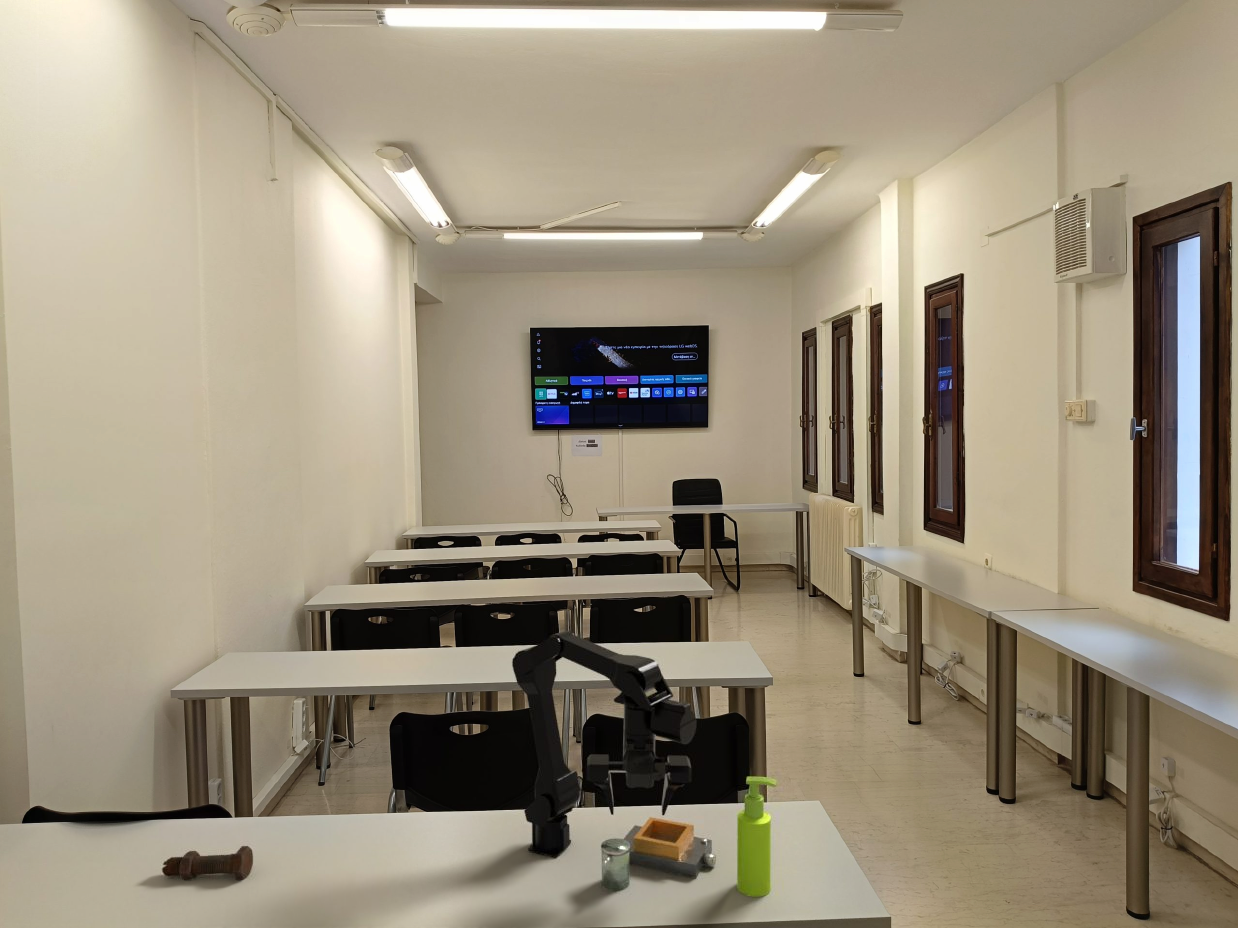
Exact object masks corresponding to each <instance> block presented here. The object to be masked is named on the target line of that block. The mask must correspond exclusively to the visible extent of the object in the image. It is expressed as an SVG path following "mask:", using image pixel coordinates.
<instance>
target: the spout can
mask: <svg viewBox="0 0 1238 928" xmlns="http://www.w3.org/2000/svg"><path fill="white" fill-rule="evenodd" d="M623 839H624V838H616V837H615V838H609V839H605V840H604V841H602V843H601V845H600V851H601V885H602V887H603V888H604V889H606V890H607V891H612V892H613V891H615V892H617V891H618V892H619V891H623V890H626V889H628V887H629V886H630V881H631V880H630V877H631V876H630V864H629V850H630V844H629V842H627V841H626V840H623Z"/></svg>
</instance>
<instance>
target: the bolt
mask: <svg viewBox="0 0 1238 928" xmlns="http://www.w3.org/2000/svg"><path fill="white" fill-rule="evenodd" d="M253 864H254V855H253V850H252V848H251V847H250V846H249V845H242V846H240V847H239V849H238V850H237V851H236V852H235V853H231V854H212V855H211V854H209V855H200V853H199V851H197V850H189V851H188V852H186V853H185V854H184V855H183V856H172V857H170V858H167V860H166V861H164V862H163V864H162V865H163V867H162V868H161V871H162V874H163V875H164V876H166V877H176V876H177V877H179V876H180V878H181V879H182V880H183V881H192V880H194V879H196V877H197V876H202V875H203V876H204V875H224V874H225V875H227V874H228V875H232V874H233V876H234V878H235V880H236V881H244V880H245V879H247V878H248V877H249V875H250V873H251V872H252V869H253Z"/></svg>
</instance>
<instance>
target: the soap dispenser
mask: <svg viewBox="0 0 1238 928" xmlns="http://www.w3.org/2000/svg"><path fill="white" fill-rule="evenodd" d="M745 782H746V783H745V784H746V785H749V789H748V790H749V793H747V794H745V795H744V809H743V810H741V811H739V812H738V813H737V819H736V820H737V831H736V832H737V835H736V836H737V839H736V840H737V842H736V843H737V844H736V845H737V846H736V847H737V848H736V850H737V853H736V855H737V858H736V860H737V865H736V866H737V867H736V868H737V874H736V875H737V877H736V880H737V881H736V884H737V885H736V888H737V890H738V891H739V892H740V893H741V894H743V895H745V896H748V897H753V898H759V897H764V896H767V895H768V894H769V893H770V892H771V882H772V881H771V878H772V876H771V875H772V873H771V869H772V867H771V862H772V861H771V859H772V858H771V855H772V854H771V853H772V852H771V851H772V850H771V849H772V845H771V843H772V842H771V840H772V836H771V834H772V832H771V831H772V826H771V825H772V824H771V823H772V817H771V815H770V814H769V812H766V811H765V810H764V809H765V808H764V806H765V805H764V803H765V800H764V799H765V798H764V795H762V794H760V785H763V786H765V785H766V786H770V787H773V788H775V787H776V786H777V785H778V780H776V779H773V778H770V777H766V776H746V780H745Z"/></svg>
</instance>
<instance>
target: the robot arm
mask: <svg viewBox="0 0 1238 928" xmlns="http://www.w3.org/2000/svg"><path fill="white" fill-rule="evenodd" d="M562 658H563V659H565V660H568V661H571V662H572V663H574V664H577V665H579V666H580V667H584V668H585V669H588V670H591V671H592V672H595V673H597V674H599V675H602V676H604V677H605V678H606V679H608V680H609V681H610V683H611V684H612V686H613V687H614V688H615V689H617V690H618V691H619V692H620V694H618V695H617V696H616V697H615V698H613V702H615V703H617V704H619V705H620V704H621V705H623V736H622V737H623V743H622V747H623V748H622V749H623V750H622V761H610V759H609V758H610V756H609V754H598V753H597V754H591V753H590V755H588V757H587V760H586V781H588V782H590V783H591V782H593V785H594V786H598V787H600V788H601V790H602V792H603V794H604V796H605V799H606V802H607V806H608V808H609V812H610V815H612V816H613V815H614V809H615V808H614V807H615V806H614V804H615V803H614V795H613V786H612V785H613V784H612V775H611V774H625V784H626V787H627V788H631V789H635V788H645V789H651V788H653V787H654V784H655V781H661V779H664V782H663V783H664V784H663V790H662V791H663V792H662V800H661V816H665V814H666V812H667V810H668V806H669V804H670V802H671V800H672V796H673V794H674V792H675V791H676V790H677V789H678V788H680V787H683V786H684V785H685V783H686V784H689V783H691V782H692V774H693V773H692V766H691V761H690V758H689V757H688V756H687V755H667V762H666V759H665V757H663V756H661V757H658V756H657V755H656V737H658V738H661V739H665V740H669V741H672V742H676V743H679V744H683V745H688V744H690V742H691V741H692V740H693V738H694V736H695V734H696V730H697V723H698V722H697V719H696V715H695V712H694V711H693V710H691V703H689V702H684V701H682V702H681V701H677V700H672V698H673V697H674V694H673V692H672V690H671V689H670V687H669V685H668V683H667V681H666V678H664V676H663V674H662V672H661V668H660V666H659V663H658V662H657V661H656V660H655V659H653V658H650V657H645V656H642V655H635V654H633V655H631V654H622V653H619V652H616V651H613V650H611V649H609V648H606V647H603V646H601V645H598V644H596V643H594V642H591V641H589V640H588V639H585V638H583V637H580V636H578V635H575V633H573V632H572V631H569V630H563V631H561V632H558V633H554V634H552V635H550V636H549V637H548V638H547V639H545V640H544V641H542V642H540V643H539V644H537V645H534V646H531V647H527V648H525V649H522V650H518V651H517V652H516V653H515V654H514V657H513V658H512V661H511V664H512V665H511V666H512V670H513V673H514V677H515V679H516V683H517V685H518V686H519V688H521V690H522V691H523V692H524V693H525V695H526V697H527V698H526V699H527V703H528V709H529V714H530V720H531V726H532V732H533V733H532V734H533V737H534V742H535V743H534V744H535V751H536V755H537V763H538V772H537V776H536V779H535V784H534V799H535V800H534V801H533V802H532V803H530V804H529V805H528V806H527V807H526V808H525V809H524V811H523V812H524V816H525V819H526V822H528V823H531V836H532V837H531V841H532V842H531V845H529V847H528V849H527V851H528V852H531V853H535V854H538V855H539V854H541V855H545V856H549V857H552V858H553V857H554V858H557V857H559V856H560V855H561V854H562V853H563V852H564V851H565V850H567V848H568V846H570V845H571V843H572V839H570V824H569V823H568V815H567V814H568V813H571V812H573V810H574V806H575V805H576V804H577V802H578V800H580V792H581V791H582V788H581V787H580V783H579V775H578V774H579V773H578V771H577V770H571V769H570V768H569V767H568V765H567V764H566V763H565V762H566V761H565V759H564V753H563V747H562V742H561V737H560V736H561V735H560V729H559V724H558V719H557V718H558V717H557V713H556V706H555V699H554V695H553V688H554V684H555V680H556V677H557V662H558V661H559V660H562ZM653 690H655V691H656V692H654V693H652V694H650V695H647V693H649V692H651V691H653Z"/></svg>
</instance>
